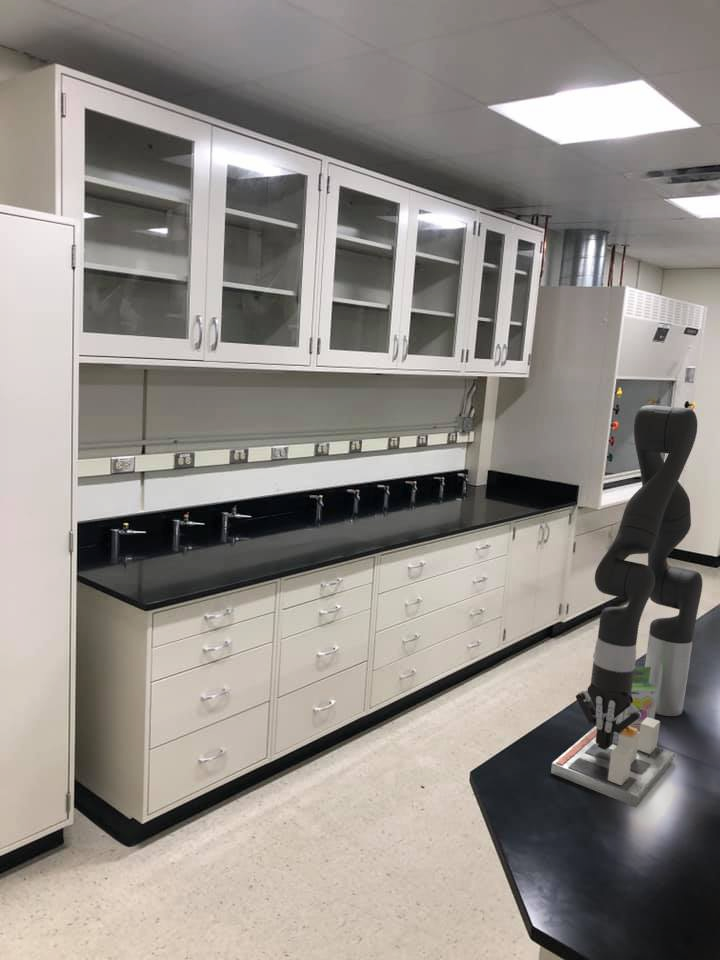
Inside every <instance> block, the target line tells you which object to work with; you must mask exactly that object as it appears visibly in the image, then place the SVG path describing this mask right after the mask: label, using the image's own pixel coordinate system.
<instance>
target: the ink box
mask: <svg viewBox="0 0 720 960" xmlns="http://www.w3.org/2000/svg"><path fill="white" fill-rule="evenodd" d="M650 670H651V667H645V666H635V668H634V672H636V671H637V672H641V673H642V675H639V674H638V675H637V674H634V676H633V684H632V691H631V696H632V698H633V703H632V704H633V705H634V706H635V707H636V708H637V709H640V710H642V712H643V715H642V716H640V717H639V718H638V719H637V720H636V721H634V722H633V723H632V724H630V725H629V726H630V727H633V728H636V729H638V732H640V725H641V723H642V722H643V721H644V720H645V719H646V718H647V717H649V718H652V719H655V717H656V713H655V709H656V701H657V693H658V690H657V689H656V688H655V687H654V686H653V685H652V684H650V683H649V676H650ZM627 712H628V708H627V709H626V710H624V711H623V712H622V713H621V714H620V715H619V716H618V719H617V722H616V723H621V722H622V721H623V720H625V719H626V718H627V717H628V716H627Z"/></svg>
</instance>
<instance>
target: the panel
mask: <svg viewBox="0 0 720 960" xmlns="http://www.w3.org/2000/svg"><path fill="white" fill-rule="evenodd" d="M596 734H597V727H596V726H595V725H594V726H593V727H592V728H591V729H590V730H589V731H588V732H587V733H585V735H583V736H582V737H581V738H579V740H577V741H576V742H575V743H574V744H573V745H571V746H570V747H569V748H568V749H567V750H566V751H565V752H563V753H562V754H561V755H560V756H558V757H557V758H556V759H554V761H552V762H551V770H550V774H553V775H555V776H558V777H560V778H562V779H564V780H567V781H570V782H573V783H574V784H578V785H580V786H582V787H585V788H586V789H589V790H593V791H595V792H597V793H600V794H602V795H605V796H607V797H609V798H612V799H614V800H617V801H618V802H622V803H624V804H627V805H629V806H631V807H635V808H637V807H638V806H639V804H640V803H641V802H642V801H643V800H644V798H646V796H647V795H648V793H650V792H651V790H652V788H654V787H655V785H656V784H657V783H658V782H659V781H660V779H661V778H662V777H663V776H664V775H665V773H666V772H667V771H668V770H669V768H670V767H671V766H672V765H673V764H674V759H675V752H673V751H670V750H667V749H664V748H661V747H659V746H657V747H656V748H655V749H654V751H653V752H652V753H651V754H648V753H645V752H642V751H640V750H637V755H636V759H635V761H634V762H633V763H632V764H631V766H630V774H629V778H628V779H627V780H626V781H625V782H624V783H623V784H622V785H619V784H616V783H614V782H611V781H609V780H608V774H609V766H610V758H611V751H613V750H614V749H615V748H616V747H617V746H618V741H619V734H620V733H617V732H614V736H613V744H612V745H611V746H610V747H609V748H607V749H606V750H604V749H601V748H599V747H598V744H596Z"/></svg>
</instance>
